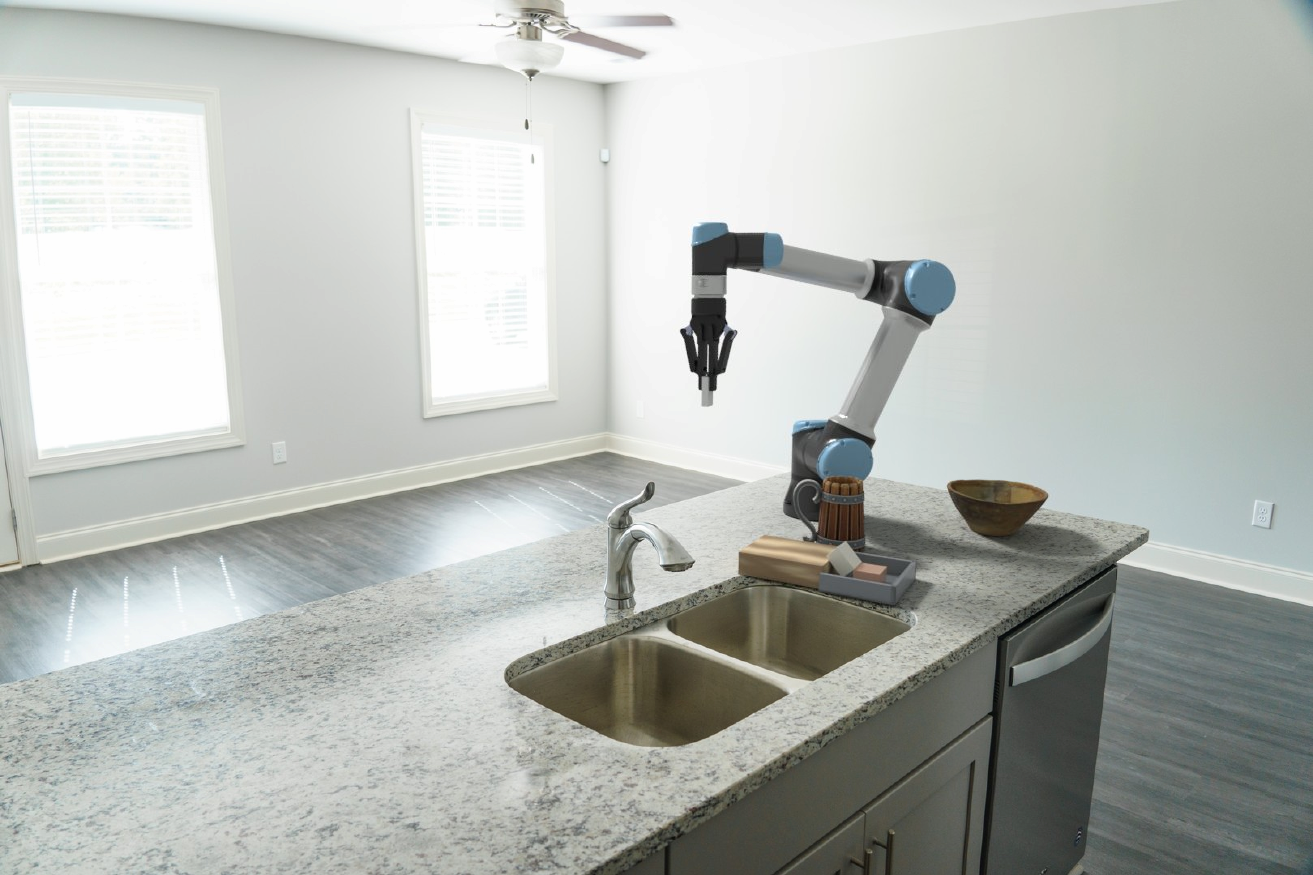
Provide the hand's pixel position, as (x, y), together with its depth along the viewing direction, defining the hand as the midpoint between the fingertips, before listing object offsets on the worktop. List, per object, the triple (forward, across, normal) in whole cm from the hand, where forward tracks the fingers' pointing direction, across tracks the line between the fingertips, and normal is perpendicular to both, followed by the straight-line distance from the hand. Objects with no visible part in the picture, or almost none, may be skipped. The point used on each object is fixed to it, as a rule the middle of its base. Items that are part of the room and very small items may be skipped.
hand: (707, 405), depth 194 cm
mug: (+30, +27, +5) cm, 40 cm away
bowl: (+30, +56, +36) cm, 73 cm away
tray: (+29, +41, -14) cm, 52 cm away
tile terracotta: (+26, +41, -14) cm, 51 cm away
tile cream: (+26, +35, -14) cm, 46 cm away
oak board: (+29, +26, -14) cm, 41 cm away
